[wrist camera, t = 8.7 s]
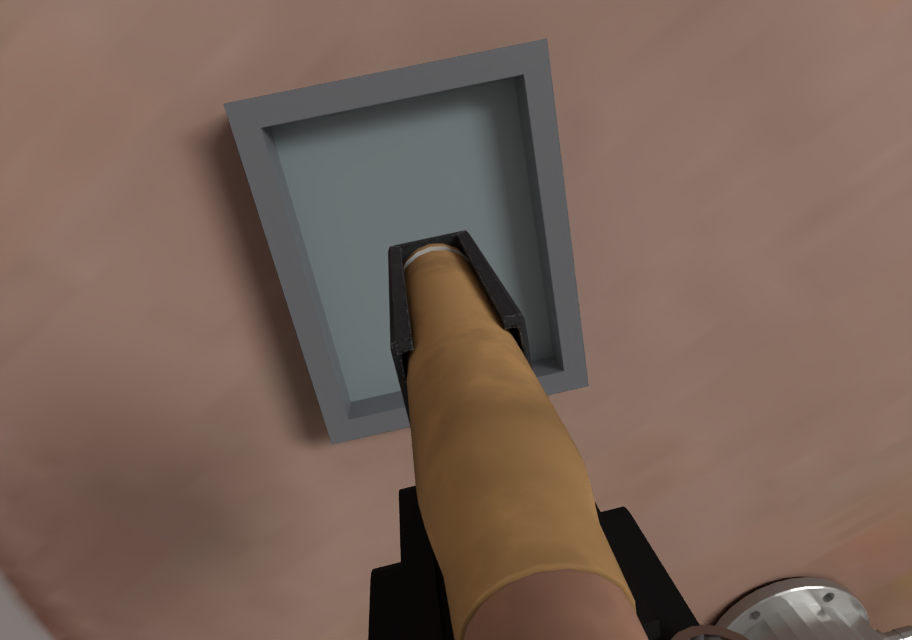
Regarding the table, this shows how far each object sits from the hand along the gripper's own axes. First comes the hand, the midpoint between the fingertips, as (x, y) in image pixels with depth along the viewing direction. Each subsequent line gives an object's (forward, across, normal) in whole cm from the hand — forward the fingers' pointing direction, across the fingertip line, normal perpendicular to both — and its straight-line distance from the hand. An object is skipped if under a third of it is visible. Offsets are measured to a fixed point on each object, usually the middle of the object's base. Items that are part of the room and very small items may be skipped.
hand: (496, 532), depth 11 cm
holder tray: (+20, 0, -1) cm, 20 cm away
